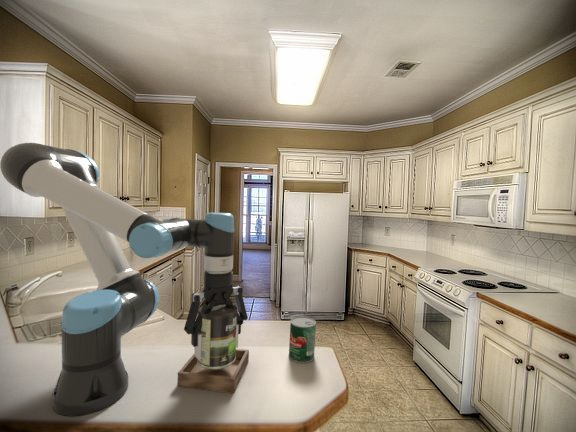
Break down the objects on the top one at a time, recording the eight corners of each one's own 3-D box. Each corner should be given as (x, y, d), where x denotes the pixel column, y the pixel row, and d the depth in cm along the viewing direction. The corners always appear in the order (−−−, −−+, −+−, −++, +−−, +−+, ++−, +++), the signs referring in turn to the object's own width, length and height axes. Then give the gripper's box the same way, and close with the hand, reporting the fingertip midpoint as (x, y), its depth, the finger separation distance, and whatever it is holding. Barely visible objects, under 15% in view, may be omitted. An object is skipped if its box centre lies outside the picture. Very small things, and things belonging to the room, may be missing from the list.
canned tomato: (285, 359, 90) (286, 324, 90) (293, 347, 98) (294, 314, 97) (310, 365, 88) (312, 328, 87) (316, 352, 95) (318, 318, 95)
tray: (177, 386, 76) (177, 372, 75) (201, 356, 90) (201, 345, 90) (233, 393, 74) (234, 379, 74) (248, 361, 88) (248, 350, 88)
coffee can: (241, 352, 86) (242, 304, 85) (226, 372, 76) (228, 318, 75) (207, 347, 88) (209, 300, 87) (189, 366, 78) (190, 313, 77)
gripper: (181, 279, 70) (179, 371, 72) (261, 268, 84) (259, 345, 86) (171, 272, 76) (169, 357, 78) (248, 263, 90) (246, 335, 92)
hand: (216, 351), depth 82 cm, fingers closed on coffee can, 10 cm apart
